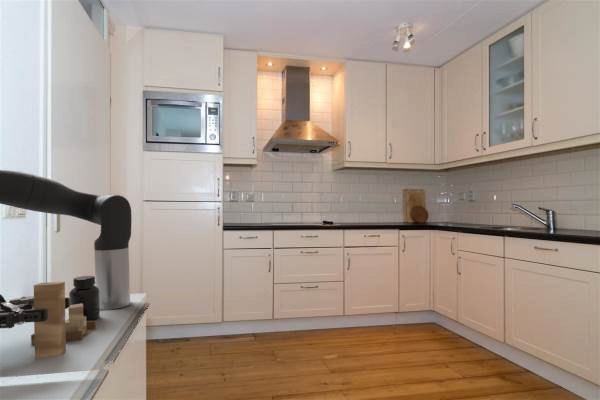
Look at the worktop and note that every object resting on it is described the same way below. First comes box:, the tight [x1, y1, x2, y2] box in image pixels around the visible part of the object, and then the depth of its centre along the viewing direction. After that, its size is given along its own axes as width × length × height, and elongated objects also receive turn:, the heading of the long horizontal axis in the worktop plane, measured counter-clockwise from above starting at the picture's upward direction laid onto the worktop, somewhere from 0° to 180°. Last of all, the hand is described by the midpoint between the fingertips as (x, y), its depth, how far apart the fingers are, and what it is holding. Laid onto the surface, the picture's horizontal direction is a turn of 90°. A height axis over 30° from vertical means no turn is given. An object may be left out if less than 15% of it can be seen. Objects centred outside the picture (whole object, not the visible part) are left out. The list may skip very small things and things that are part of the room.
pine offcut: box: [65, 317, 87, 334], centre depth 86 cm, size 4×3×4 cm
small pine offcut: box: [67, 303, 84, 322], centre depth 87 cm, size 3×3×3 cm
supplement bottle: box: [68, 275, 101, 321], centre depth 98 cm, size 7×7×12 cm
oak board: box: [33, 281, 67, 358], centre depth 76 cm, size 2×4×15 cm, turn 96°
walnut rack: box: [30, 320, 97, 345], centre depth 86 cm, size 8×10×3 cm
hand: (58, 308), depth 76 cm, fingers open, 8 cm apart
